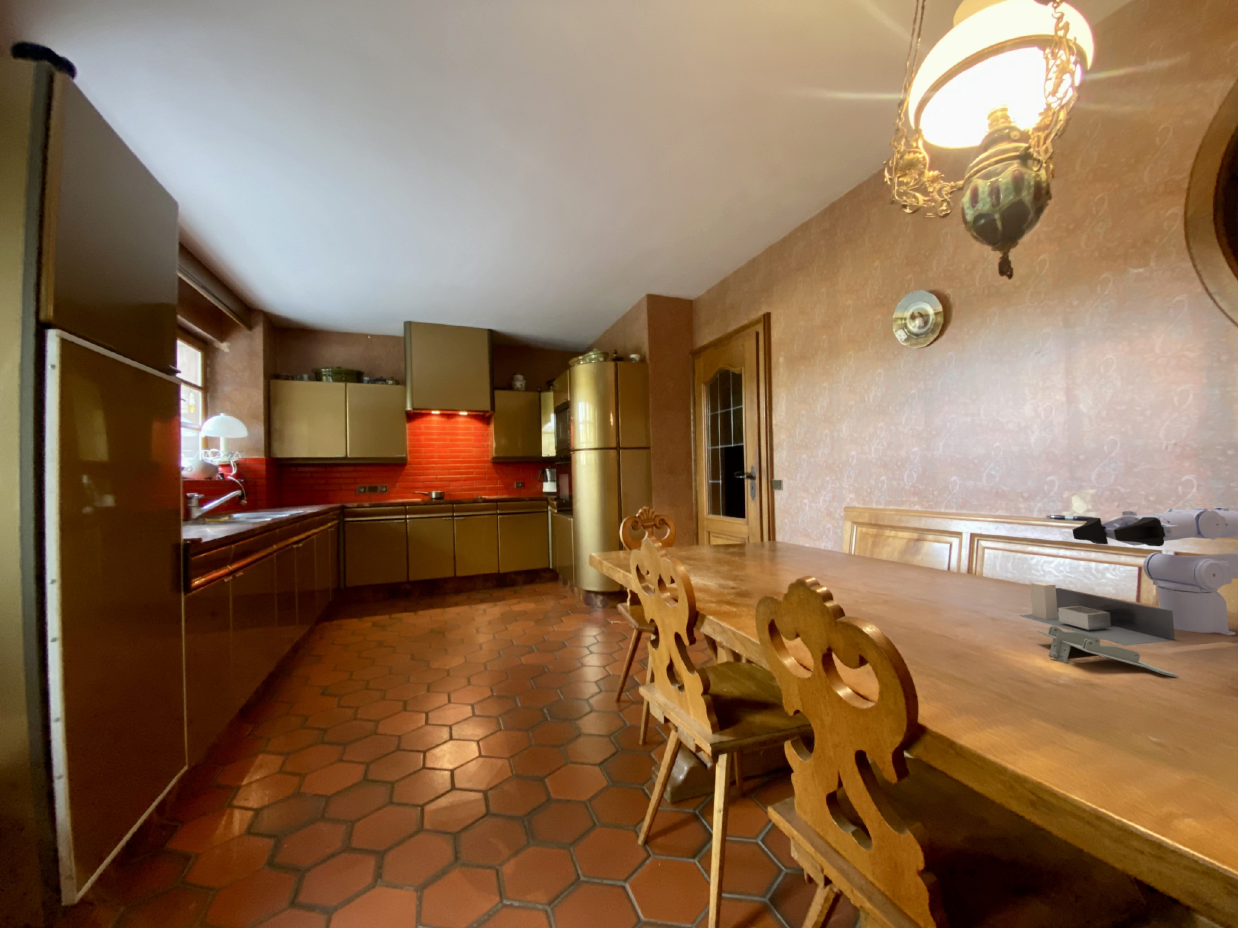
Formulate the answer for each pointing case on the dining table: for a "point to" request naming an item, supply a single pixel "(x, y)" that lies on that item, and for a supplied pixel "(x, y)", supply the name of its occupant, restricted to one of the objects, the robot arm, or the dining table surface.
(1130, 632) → the mounting board
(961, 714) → the dining table surface
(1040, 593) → the beige rectangular block
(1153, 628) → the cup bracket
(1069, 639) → the metal bracket
